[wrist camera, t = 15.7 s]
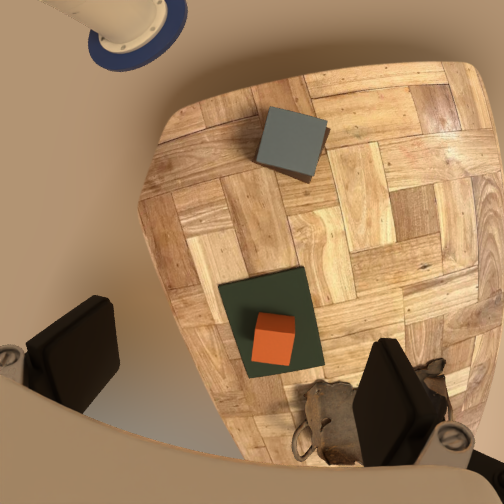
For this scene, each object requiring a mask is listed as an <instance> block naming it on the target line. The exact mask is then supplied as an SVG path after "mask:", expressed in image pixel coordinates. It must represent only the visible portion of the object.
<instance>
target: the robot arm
mask: <svg viewBox="0 0 504 504" xmlns="http://www.w3.org/2000/svg"><path fill="white" fill-rule="evenodd" d="M39 1H41V2H43V3H45V4H47V5H49V6H51V7H53V8H55V9H57V10H59V11H61V12H62V13H64V14H66V15H68V16H70V17H71V18H73V19H75V20H77V21H78V22H80V23H82V24H83V25H85V26H87V27H89V28H90V29H92V30H93V31H95V32H97V33H98V34H99V41H100V44H101V45H102V46H103V48H105V49H106V50H108V51H109V52H112V53H116V54H124V53H129V52H132V51H135V50H137V49H139V48H141V47H143V46H144V45H145V44H147V43H148V42H150V41H151V40H152V39H153V38H154V37H155V36H156V35H157V34H158V32H159V31H160V30H161V28H162V27H163V25H164V23H165V21H166V18H167V14H168V8H167V4H166V2H165V1H164V0H39ZM26 347H27V350H28V351H27V352H26V353H25V354H24V351H23V350H22V348H20V347H19V346H16V345H3V346H0V504H504V463H503V462H500V461H498V460H496V459H494V458H491V457H489V456H487V455H485V454H482V453H481V452H478V451H476V450H474V449H473V448H474V444H475V439H474V435H473V433H472V432H471V430H470V429H469V428H468V427H466V426H465V425H463V424H461V423H459V422H456V421H444V422H441V423H440V422H439V419H438V417H437V415H438V414H437V412H436V410H435V408H434V406H433V404H432V402H431V400H430V398H429V397H428V395H427V393H426V391H425V389H424V387H423V385H422V383H421V382H420V380H419V378H418V376H417V374H416V372H415V371H414V369H413V367H412V365H411V363H410V362H409V360H408V358H407V356H406V355H405V353H404V351H403V349H402V348H401V346H400V344H399V342H398V341H397V339H392V338H380V339H379V340H378V342H374V343H373V345H372V348H371V352H370V355H369V358H368V361H367V364H366V367H365V369H364V372H363V375H362V378H361V381H360V383H359V386H358V389H357V392H356V394H355V397H354V400H353V404H352V409H353V414H354V419H355V424H356V429H357V433H358V438H359V444H360V449H361V454H362V459H363V465H364V467H310V466H294V465H282V464H272V463H263V462H255V461H248V460H241V459H235V458H229V457H224V456H218V455H213V454H208V453H203V452H199V451H194V450H190V449H186V448H182V447H177V446H173V445H170V444H166V443H163V442H159V441H156V440H152V439H149V438H146V437H143V436H140V435H137V434H133V433H130V432H127V431H125V430H121V429H119V428H116V427H113V426H111V425H108V424H105V423H103V422H100V421H98V420H95V419H93V418H90V417H88V416H86V415H83V412H84V411H85V410H86V409H87V407H88V406H89V405H90V404H91V402H92V401H93V400H94V399H95V398H96V396H97V395H98V394H99V393H100V392H101V390H102V389H103V388H104V387H105V386H106V384H107V383H108V382H109V381H110V379H111V378H112V377H113V376H114V375H115V373H116V372H117V371H118V369H119V366H120V359H119V352H118V344H117V336H116V328H115V318H114V308H113V304H112V303H111V302H110V300H109V299H108V298H106V297H102V296H97V295H93V296H92V297H90V298H89V299H87V300H86V301H84V302H83V303H81V304H80V305H78V306H77V307H76V308H74V309H73V310H71V311H70V312H68V313H67V314H65V315H64V316H62V317H61V318H60V319H58V320H57V321H55V322H54V323H53V324H51V325H50V326H48V327H47V328H46V329H44V330H43V331H41V332H40V333H39V334H37V335H36V336H35V337H33V338H32V339H30V340H29V341H28V342H26Z"/></svg>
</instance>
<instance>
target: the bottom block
mask: <svg viewBox="0 0 504 504" xmlns="http://www.w3.org/2000/svg"><path fill="white" fill-rule="evenodd" d="M330 130H331V129H330V128H327V127H326V130H325V134H324V138H323V142H322V146H321V150H320V154H319V158H320V156H321V153H322V150H323V148H324V145H325V143H326V140H327V138H328V135H329V132H330ZM262 135H263V134H262ZM261 139H262V137H261ZM261 139H260V142H259V144H258V147H257V150H256V152H255V155H254V157H253V160H252V162H254V163H256V164H259V165H261V166H264V167H267V168H269V169H272V170H275V171H277V172H280V173H282V174H285V175H288V176H290V177H293V178H295V179H298V180H300V181H302V182H305V183H308V184H309V183H310V181H311V179H312V176H308V175H304V174H300V173H297V172H293V171H289V170H285V169H281V168H277V167H273V166H269V165H265V164H261V163H259V162H257V161H256V159H257V155H258V151H259V147H260V143H261ZM319 158H318V161H319ZM317 163H318V162H317Z"/></svg>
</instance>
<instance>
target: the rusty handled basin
mask: <svg viewBox="0 0 504 504" xmlns="http://www.w3.org/2000/svg"><path fill="white" fill-rule="evenodd" d="M445 364H446V360H444V359H440V360H437V361H433V362H432V363H430V364H429V365H428V368H427V369H421V370H416V371H415V372H416V374H417V376H418V378H419V380H420V382H421V383H422V385H423V387H424V389H425V391H426V393H427V395H428V397H429V398H430V400H431V402H432V404H433V406H434V408H435V410H436V412H437V414H438V415H437V417H438V419H439V422H440V423H441V422H444V421H445V417H444V416H445V414H446V411H447V406H448V417H449V421H453V410H452V406H451V403H450V400H449V396H448V392H447V388H446V385H445V376H444V374H443V375H440V376H438V375H439V374H440V373H441V372H442V371H443V368H444V366H445ZM443 377H444V378H443ZM318 390H319V392H318ZM317 392H318V393H317ZM356 392H357V390H353V387H352V385H351V384H344V383H341V382H340V383H335V384H333V385H330V384H327V383H317V384H315V385H314V386H313V387H312V388H311V389H310V390H309V391H308V392H306V394H304V397H307V402H306V404H305V413H306V419H305V421H304V422H303V423H302V424H301V425H300V426H299V427H298V428H297V429H296V430H295V432H294V434H293V438H292V452H293V454H294V457H295V459H296V460H297V461H300V462H302V461H304V460H306V459H307V458H308V457H309V455H310V454H311V453H312V452H314V450H315V449H316V448H317V453H318V455H319V457H320V458H321V459H323V460H324V461H326V463H327V464H328V465H355V463H354V462H355V461H357V462H359V463H360V464H361V465H363V459H362V454H361V449H360V444H359V438H358V433H357V429H356V424H355V419H354V414H353V409H352V404H353V400H354V397H355V394H356ZM324 418H330V419H331V421H332V422H330V423H328V424H327V425H326V426H324V427H323V430H321V431H320V428H321V427H322V426H321V421H322V420H323V419H324ZM307 426H309V427H310V429H311V431H312V437H311V441H312V445H311V447H310V448H309V450H308V451H307V452H306V453H305V454H304V455H303V456H302V457H301V456H299V454H298V451H297V438H298V436H299V434H300V432H301V431H302V430H303V429H304V428H305V427H307Z"/></svg>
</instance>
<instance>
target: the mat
mask: <svg viewBox="0 0 504 504" xmlns="http://www.w3.org/2000/svg"><path fill="white" fill-rule="evenodd" d="M218 288H219V292H220V295H221V298H222V301H223V304H224V307H225V310H226V313H227V316H228V319H229V322H230V325H231V328H232V331H233V334H234V337H235V340H236V343H237V346H238V349H239V351H240V354H241V357H242V360H243V363H244V366H245V369H246V371H247V374H248V377H249V378H256V377H262V376H269V375H275V374H281V373H287V372H293V371H298V370H303V369H309V368H314V367H318V366H323V365H325V362H324V357H323V352H322V347H321V342H320V337H319V332H318V327H317V322H316V318H315V313H314V308H313V304H312V299H311V294H310V290H309V286H308V281H307V277H306V272H305V268H304V266H303V267H299V268H294V269H290V270H286V271H281V272H277V273H273V274H268V275H264V276H259V277H255V278H250V279H246V280H241V281H237V282H232V283H228V284H223V285H219V286H218ZM259 312H263V313H270V314H278V315H286V316H294V317H295V338H294V343H293V348H292V353H291V358H290V363H289V366H286V365H278V364H270V363H262V362H255V361H251V359H252V351H253V343H254V334H255V328H256V323H257V319H258V314H259Z"/></svg>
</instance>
